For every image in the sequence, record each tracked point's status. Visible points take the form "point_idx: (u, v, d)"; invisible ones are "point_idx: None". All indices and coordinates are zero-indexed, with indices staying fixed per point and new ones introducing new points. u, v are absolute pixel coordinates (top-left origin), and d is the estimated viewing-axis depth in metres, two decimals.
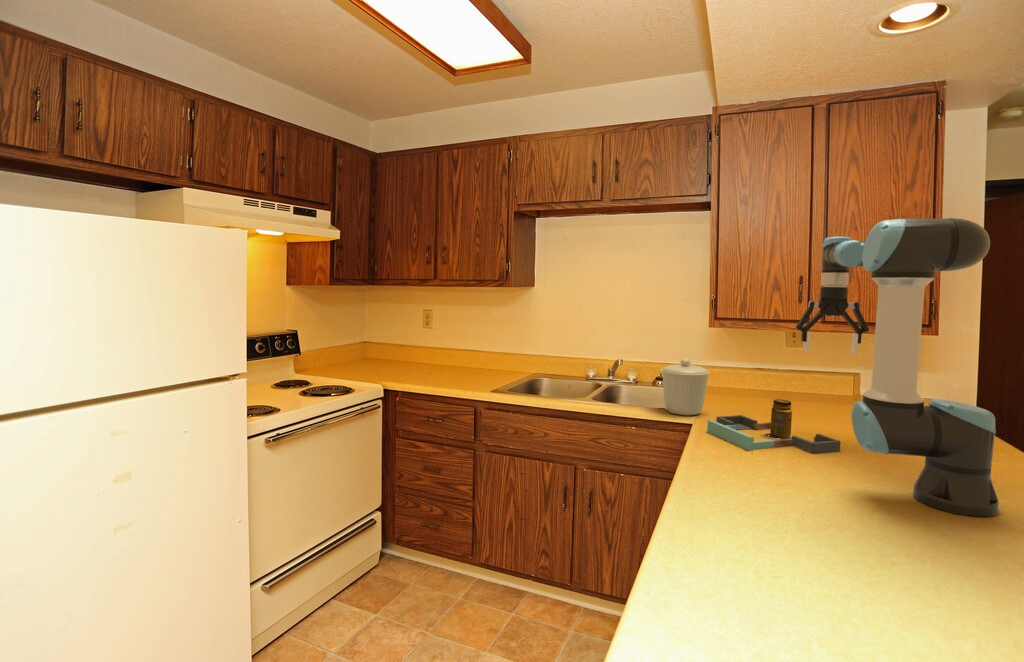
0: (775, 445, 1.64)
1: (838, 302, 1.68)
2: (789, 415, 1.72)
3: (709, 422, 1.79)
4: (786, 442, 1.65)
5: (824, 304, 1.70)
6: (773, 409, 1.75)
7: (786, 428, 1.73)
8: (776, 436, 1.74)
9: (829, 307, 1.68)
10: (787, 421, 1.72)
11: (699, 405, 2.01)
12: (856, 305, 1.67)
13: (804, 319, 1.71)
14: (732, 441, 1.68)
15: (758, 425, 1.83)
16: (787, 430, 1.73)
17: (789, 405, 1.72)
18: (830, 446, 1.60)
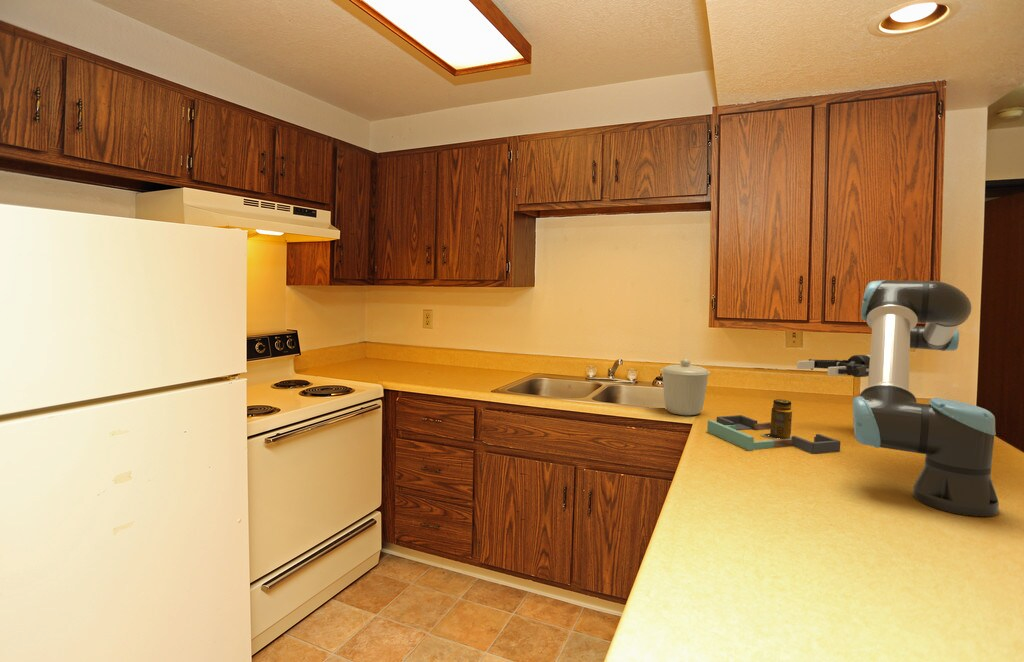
0: (775, 445, 1.64)
1: (856, 363, 1.80)
2: (789, 415, 1.72)
3: (709, 422, 1.79)
4: (786, 442, 1.65)
5: None
6: (773, 409, 1.75)
7: (786, 428, 1.73)
8: (776, 436, 1.74)
9: (845, 360, 1.82)
10: (787, 421, 1.72)
11: (699, 405, 2.01)
12: (867, 365, 1.75)
13: None
14: (732, 441, 1.68)
15: (758, 425, 1.83)
16: (787, 430, 1.73)
17: (789, 405, 1.72)
18: (830, 446, 1.60)
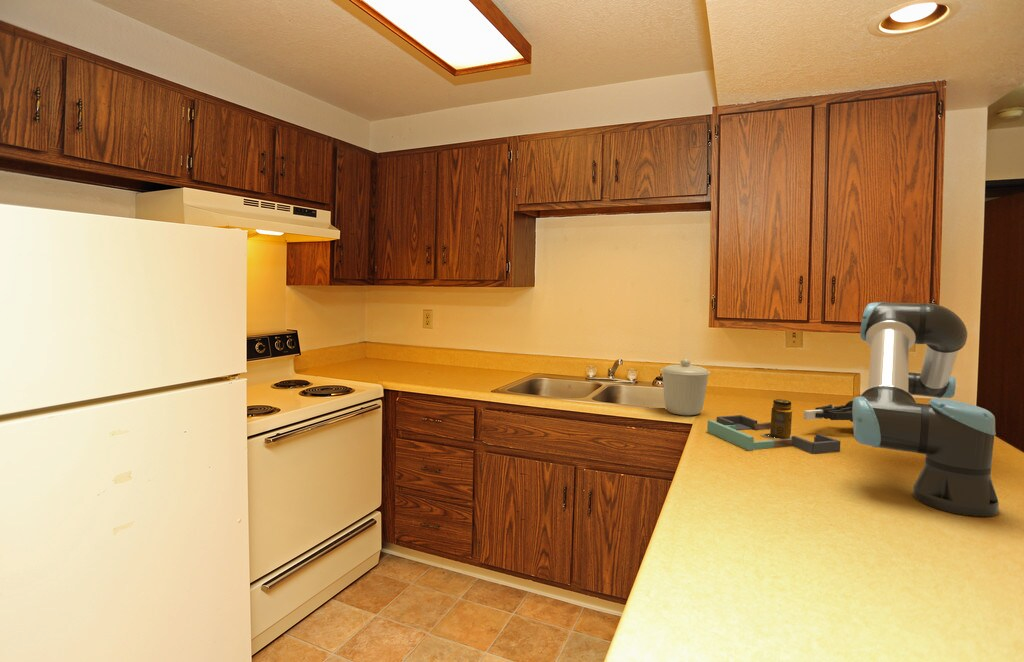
0: (775, 445, 1.64)
1: None
2: (789, 415, 1.72)
3: (709, 422, 1.79)
4: (786, 442, 1.65)
5: None
6: (773, 409, 1.75)
7: (786, 428, 1.72)
8: (776, 436, 1.74)
9: (843, 405, 1.83)
10: (787, 421, 1.72)
11: (699, 405, 2.01)
12: None
13: (822, 407, 1.84)
14: (732, 441, 1.68)
15: (758, 425, 1.83)
16: (787, 430, 1.73)
17: (789, 405, 1.72)
18: (830, 446, 1.60)
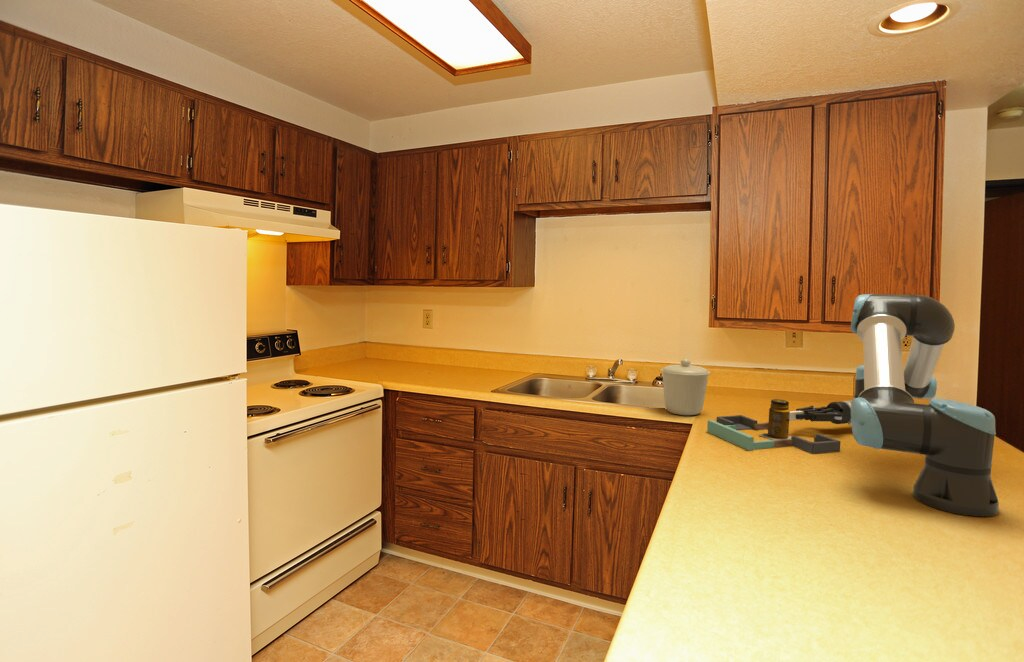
0: (775, 445, 1.64)
1: (839, 411, 1.79)
2: (786, 414, 1.72)
3: (709, 422, 1.79)
4: (786, 442, 1.65)
5: None
6: (770, 409, 1.75)
7: (783, 428, 1.72)
8: (773, 436, 1.74)
9: None
10: (785, 421, 1.72)
11: (699, 405, 2.01)
12: (838, 414, 1.75)
13: (803, 408, 1.83)
14: (732, 441, 1.68)
15: (758, 425, 1.83)
16: (784, 430, 1.72)
17: (786, 405, 1.72)
18: (830, 446, 1.60)
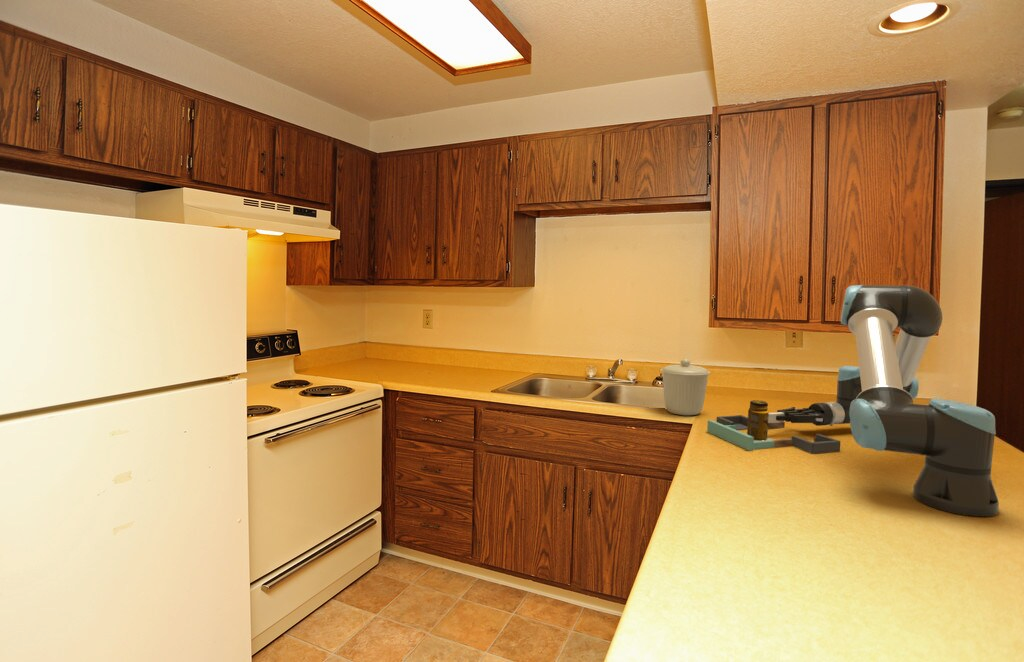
0: (775, 445, 1.64)
1: (820, 412, 1.77)
2: (764, 416, 1.70)
3: (709, 422, 1.79)
4: (786, 442, 1.65)
5: None
6: (749, 410, 1.73)
7: (760, 429, 1.70)
8: None
9: (805, 408, 1.80)
10: (762, 423, 1.70)
11: (699, 405, 2.01)
12: (819, 415, 1.73)
13: (784, 409, 1.81)
14: (732, 441, 1.68)
15: None
16: (762, 432, 1.70)
17: (764, 407, 1.70)
18: (830, 446, 1.60)
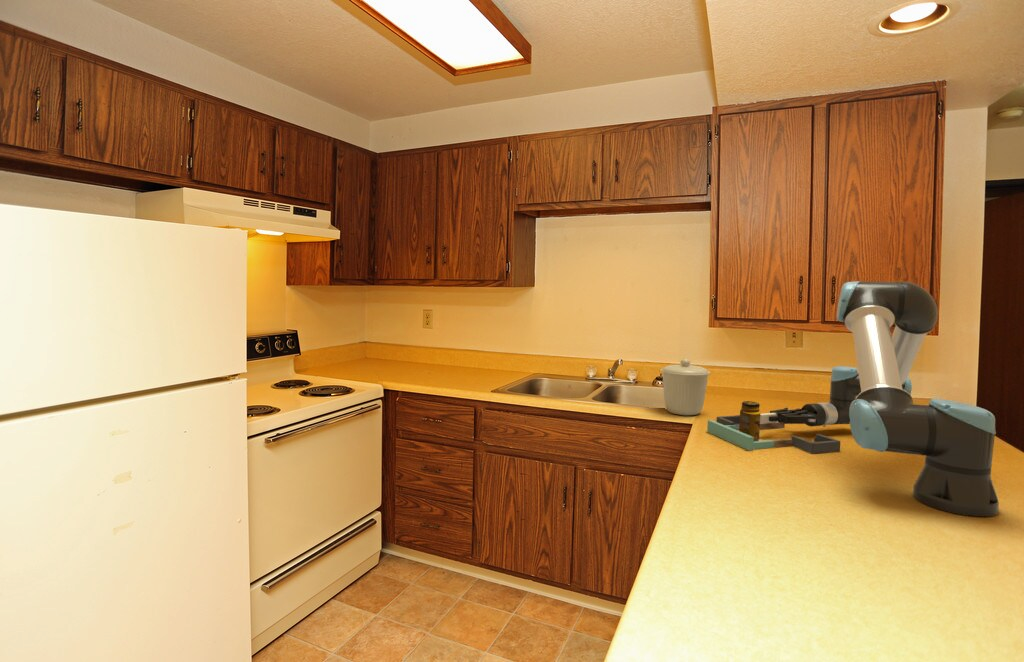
0: (775, 445, 1.64)
1: (813, 413, 1.76)
2: (755, 417, 1.69)
3: (709, 422, 1.79)
4: (786, 442, 1.65)
5: None
6: (740, 411, 1.72)
7: (751, 430, 1.69)
8: None
9: None
10: (753, 424, 1.69)
11: (699, 405, 2.01)
12: (811, 416, 1.72)
13: (777, 410, 1.79)
14: (732, 441, 1.68)
15: None
16: (753, 433, 1.69)
17: (755, 407, 1.69)
18: (830, 446, 1.60)
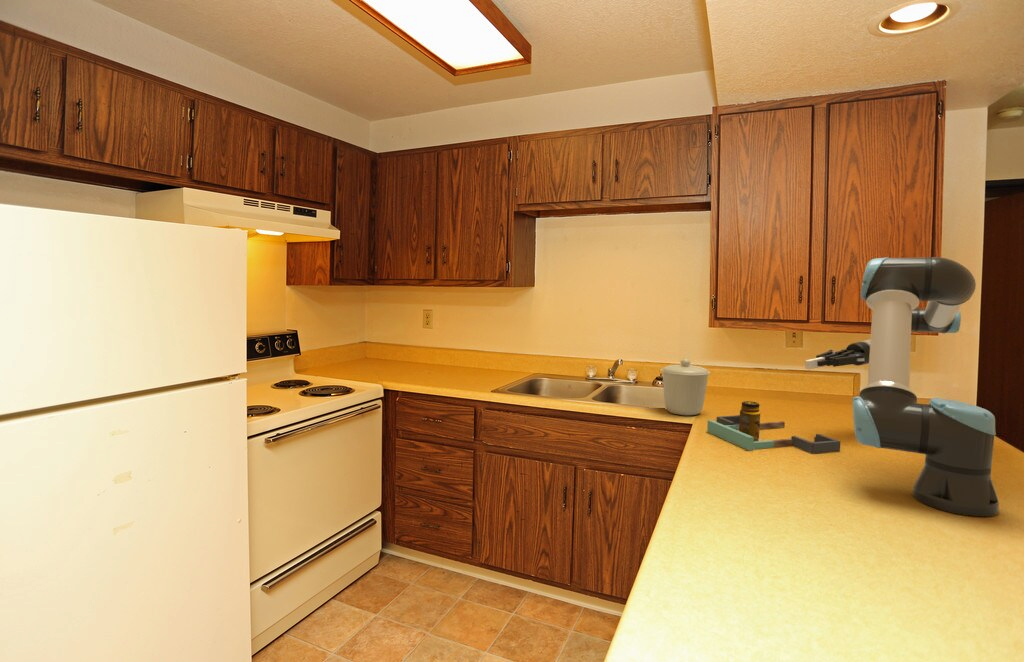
0: (775, 445, 1.64)
1: (860, 352, 1.74)
2: (755, 417, 1.69)
3: (709, 422, 1.79)
4: (786, 442, 1.65)
5: None
6: (740, 411, 1.72)
7: (751, 430, 1.69)
8: None
9: (844, 349, 1.76)
10: (753, 424, 1.69)
11: (699, 405, 2.01)
12: (860, 355, 1.70)
13: (823, 353, 1.77)
14: (732, 441, 1.68)
15: None
16: (753, 433, 1.69)
17: (755, 408, 1.69)
18: (830, 446, 1.60)
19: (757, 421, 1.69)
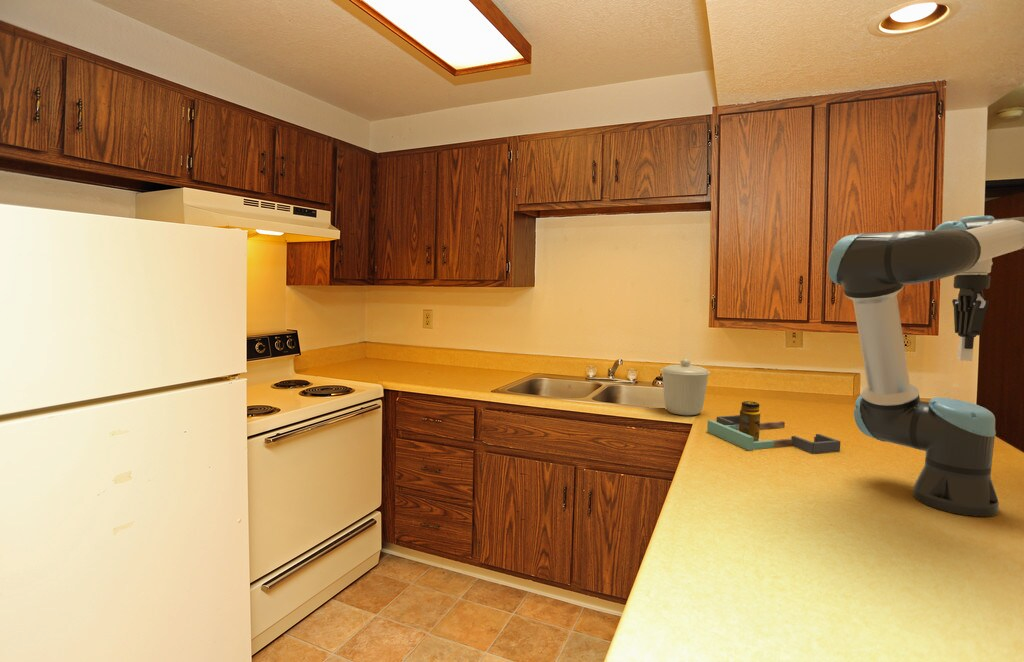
0: (775, 445, 1.64)
1: (970, 289, 1.44)
2: (755, 417, 1.69)
3: (709, 422, 1.79)
4: (786, 442, 1.65)
5: (960, 294, 1.49)
6: (740, 411, 1.72)
7: (751, 430, 1.69)
8: None
9: (959, 298, 1.48)
10: (753, 424, 1.69)
11: (699, 405, 2.01)
12: (975, 303, 1.41)
13: (955, 320, 1.50)
14: (732, 441, 1.68)
15: None
16: (753, 433, 1.69)
17: (755, 407, 1.69)
18: (830, 446, 1.60)
19: (757, 421, 1.69)
